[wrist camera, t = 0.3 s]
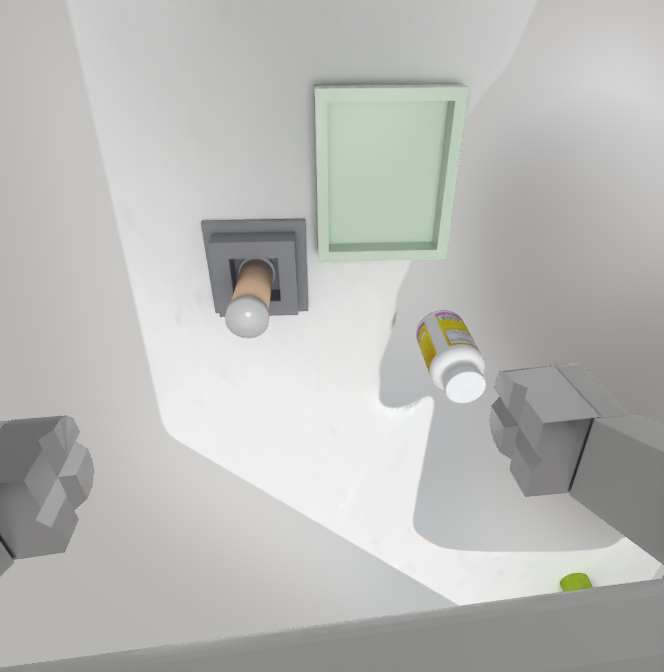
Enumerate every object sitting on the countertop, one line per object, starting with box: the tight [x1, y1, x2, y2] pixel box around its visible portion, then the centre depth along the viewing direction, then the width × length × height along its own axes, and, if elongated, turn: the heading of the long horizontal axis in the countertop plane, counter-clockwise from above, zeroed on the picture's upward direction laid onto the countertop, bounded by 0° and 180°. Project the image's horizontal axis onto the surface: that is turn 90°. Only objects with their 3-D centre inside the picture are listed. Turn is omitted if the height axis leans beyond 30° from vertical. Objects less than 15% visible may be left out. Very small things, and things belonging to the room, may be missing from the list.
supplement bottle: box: [416, 310, 486, 403], centre depth 60 cm, size 7×7×13 cm
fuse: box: [225, 258, 276, 338], centre depth 53 cm, size 4×4×12 cm
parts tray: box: [314, 84, 469, 262], centre depth 52 cm, size 18×15×4 cm
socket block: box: [201, 219, 308, 317], centre depth 57 cm, size 12×12×4 cm
